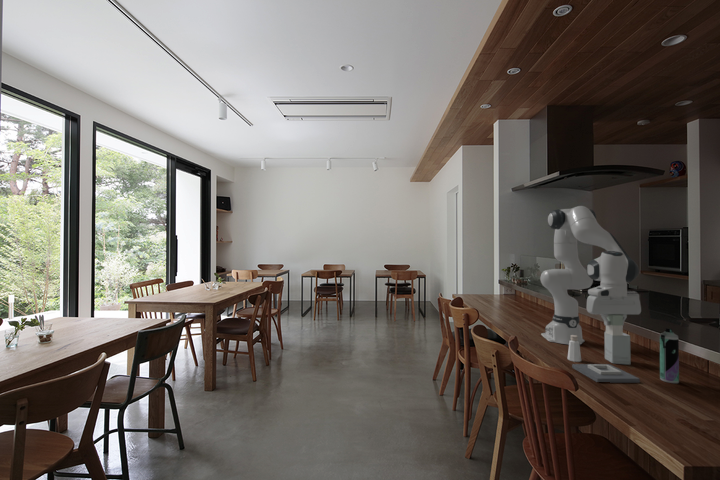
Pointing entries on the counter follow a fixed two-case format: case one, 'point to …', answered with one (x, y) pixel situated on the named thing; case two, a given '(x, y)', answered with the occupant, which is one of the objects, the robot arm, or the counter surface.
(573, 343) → the pepper shaker
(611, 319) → the block stack
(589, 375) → the square peg socket board
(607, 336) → the supplement box
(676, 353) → the spray can
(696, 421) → the counter surface
